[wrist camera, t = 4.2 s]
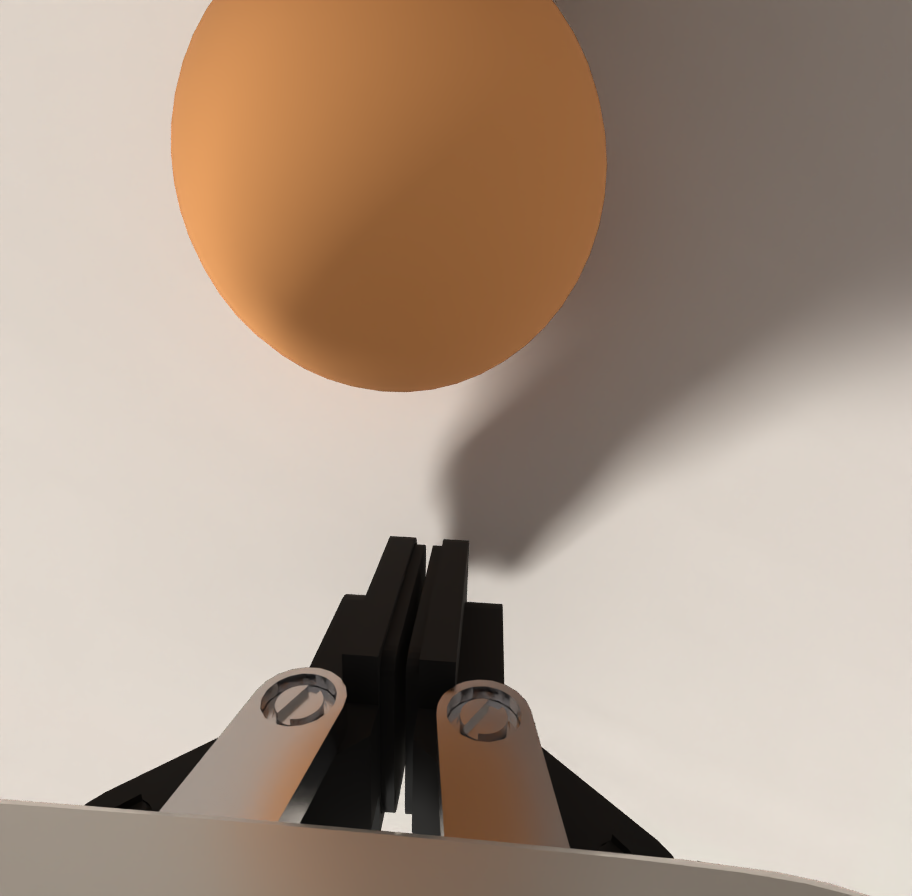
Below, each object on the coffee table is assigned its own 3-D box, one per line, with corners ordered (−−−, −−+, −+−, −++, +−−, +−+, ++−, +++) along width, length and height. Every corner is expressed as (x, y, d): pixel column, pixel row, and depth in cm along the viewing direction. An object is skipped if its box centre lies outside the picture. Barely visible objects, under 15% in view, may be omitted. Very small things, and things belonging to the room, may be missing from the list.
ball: (642, 421, 6) (582, 362, 12) (664, -335, 4) (582, 28, 10) (111, 437, 7) (302, 375, 12) (-23, -207, 5) (265, 64, 11)
